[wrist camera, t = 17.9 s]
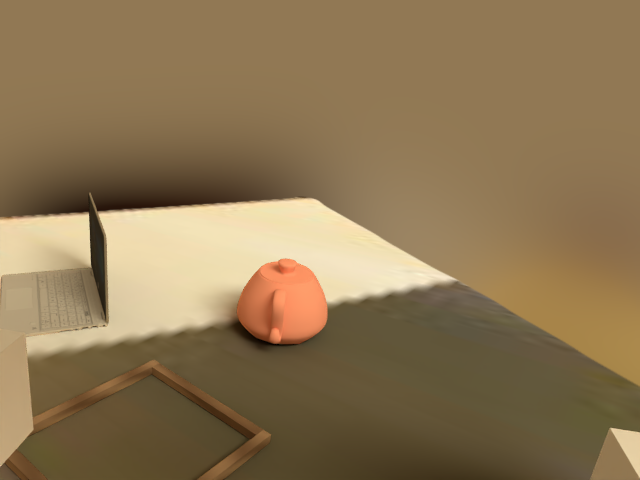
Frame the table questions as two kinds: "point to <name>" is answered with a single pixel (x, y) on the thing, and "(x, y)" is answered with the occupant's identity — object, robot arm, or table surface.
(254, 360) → the table surface
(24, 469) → the walnut frame
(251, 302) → the sugar bowl
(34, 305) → the laptop
